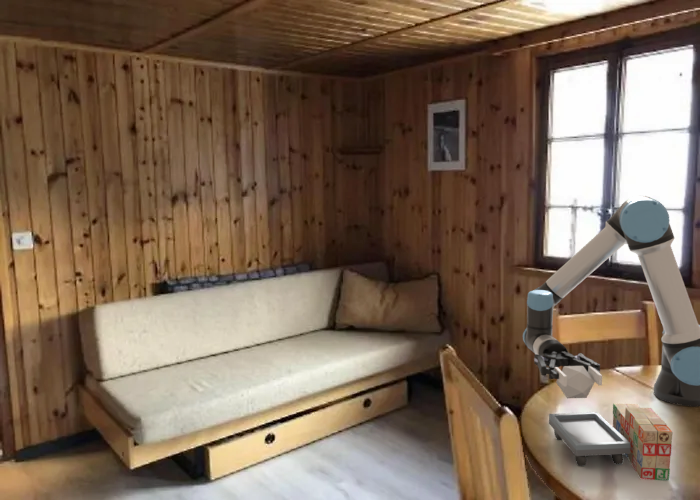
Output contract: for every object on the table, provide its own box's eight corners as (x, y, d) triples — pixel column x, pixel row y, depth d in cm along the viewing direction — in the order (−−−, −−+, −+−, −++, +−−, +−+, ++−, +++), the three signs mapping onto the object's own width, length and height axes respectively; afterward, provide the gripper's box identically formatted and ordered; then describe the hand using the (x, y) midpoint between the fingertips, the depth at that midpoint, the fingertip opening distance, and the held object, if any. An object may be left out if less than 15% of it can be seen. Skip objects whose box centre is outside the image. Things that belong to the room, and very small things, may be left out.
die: (588, 408, 140) (604, 374, 141) (557, 390, 141) (574, 357, 142) (576, 406, 148) (591, 374, 149) (546, 389, 149) (562, 357, 150)
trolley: (596, 433, 150) (597, 412, 149) (629, 467, 133) (630, 443, 132) (548, 435, 149) (549, 413, 148) (575, 469, 132) (576, 445, 132)
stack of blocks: (611, 435, 149) (613, 391, 147) (636, 436, 148) (638, 392, 146) (640, 479, 128) (643, 429, 126) (670, 481, 127) (673, 430, 125)
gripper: (585, 362, 163) (623, 393, 141) (514, 364, 163) (541, 396, 141) (586, 337, 162) (625, 365, 140) (514, 340, 162) (541, 367, 140)
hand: (583, 380), depth 140 cm, fingers closed on die, 8 cm apart
